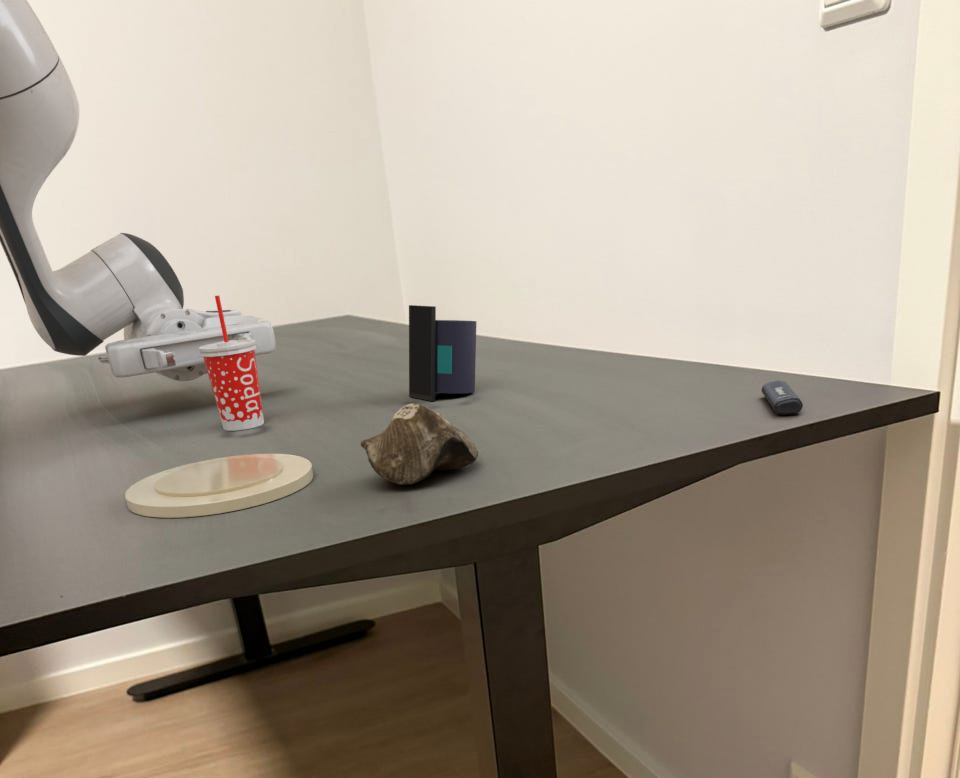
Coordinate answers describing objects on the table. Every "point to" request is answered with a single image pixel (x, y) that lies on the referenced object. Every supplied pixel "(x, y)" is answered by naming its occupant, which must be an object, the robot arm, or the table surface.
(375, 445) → the fossilized seashell
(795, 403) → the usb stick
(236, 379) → the beverage cup
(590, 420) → the table surface
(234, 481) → the plate
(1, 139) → the robot arm
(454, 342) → the speaker
